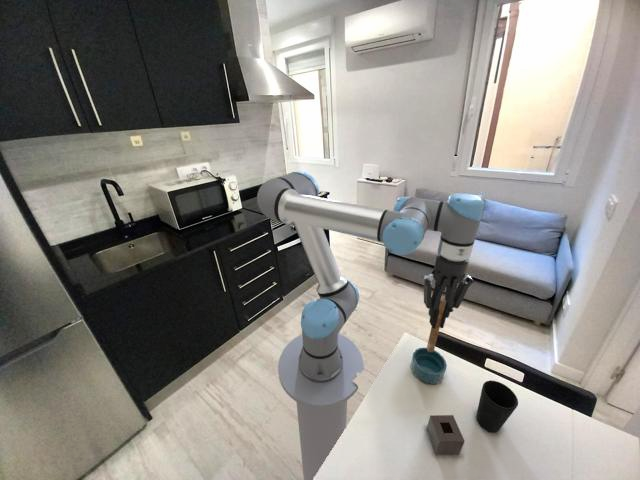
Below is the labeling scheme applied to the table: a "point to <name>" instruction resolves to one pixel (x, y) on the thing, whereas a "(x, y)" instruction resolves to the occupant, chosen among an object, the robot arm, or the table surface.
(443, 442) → the holder
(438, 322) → the stick
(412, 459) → the table surface
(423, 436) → the table surface
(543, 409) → the table surface
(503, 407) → the cup
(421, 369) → the bowl
